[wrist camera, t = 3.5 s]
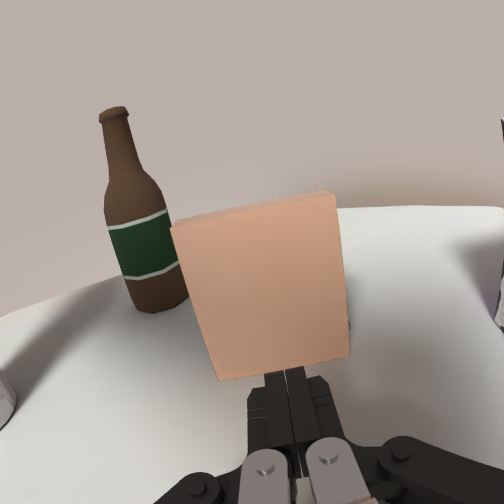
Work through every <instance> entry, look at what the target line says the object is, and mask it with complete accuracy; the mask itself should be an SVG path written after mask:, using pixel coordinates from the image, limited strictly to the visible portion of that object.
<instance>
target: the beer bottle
mask: <svg viewBox="0 0 504 504" xmlns="http://www.w3.org/2000/svg"><path fill="white" fill-rule="evenodd" d="M128 116H129V114H128V111H127V110H126V108H125V107H123V106H120V107H113V108H110V109H107V110H105V111H104V112H102V113H101V114H99V122H100V123H101V124H102V129H103V135H104V143H105V148H106V155H107V161H108V166H109V183H108V187H107V190H106V193H105V199H104V214H105V219H106V224H107V228H108V231H109V234H110V237H111V241H112V244H113V247H114V250H115V253H116V256H117V259H118V262H119V265H120V268H121V271H122V274H123V277H124V279H125V282H126V285H127V288H128V290H129V293H130V296H131V298H132V300H133V302H134V305H135V307H136V309H137V310H139V311H143V312H148V313H157V312H160V311H164V310H167V309H171V308H174V307H176V306H177V305H179V304H180V303H181V302H182V301H184V300H185V299H186V298H188V297H189V292H188V289H187V286H186V283H185V280H184V276H183V273H182V270H181V266H180V263H179V260H178V256H177V253H176V249H175V246H174V242H173V239H172V235H171V232H170V228H171V226H172V225H171V221H170V218H169V214H168V210H167V207H166V203H165V201H164V198H163V195H162V191H161V190H160V188H159V187H158V185H157V184H156V182H155V181H154V180H153V179H152V178H151V177H150V176H149V175H148V174H147V173H146V172H145V171H144V170H143V168H142V165H141V163H140V161H139V158H138V155H137V152H136V148H135V145H134V141H133V138H132V134H131V130H130V127H129V123H128V120H127V117H128Z"/></svg>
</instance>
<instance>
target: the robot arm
mask: <svg viewBox="0 0 504 504" xmlns="http://www.w3.org/2000/svg"><path fill="white" fill-rule="evenodd" d="M285 375H286V381H287V385H286V381H285V376H284V371H283V370H279V371H274V372H269V373H264V379H265V387H259V388H253V389H252V391H251V393H250V395H249V397H248V399H247V410H248V412H247V418H248V420H247V421H248V454H247V457H246V459H245V460H244V462H243V464H242V465H241V466H240V467H238V468H237V469H235V470H234V471H231V472H229V473H226V474H223V475H220V476H217V477H214V476H213V475H211V474H208V473H204V472H196V473H191V474H189V475H187V476H185V477H184V478H182V479H181V480H180V481H179V482H178V483H177V484H176V485H175V486H173V487H172V488H171V489H170V490H169V491H168V492H167V493H165V494H164V495H163V496H162V497H161V498H160V499H158V500H157V501H156V502H155V503H154V504H297V485H296V479H298V478H302V475H301V469H300V462H301V467H302V471H303V476H304V477H308V476H309V479H310V484H311V489H312V495H313V499H314V502H315V504H504V470H502V469H498V468H495V467H492V466H489V465H486V464H482V463H479V462H476V461H473V460H470V459H468V458H465V457H462V456H459V455H456V454H454V453H451V452H448V451H445V450H443V449H440V448H438V447H435V446H432V445H430V444H427V443H425V442H422V441H420V440H417V439H415V438H413V437H409V436H398V437H394V438H392V439H390V440H388V441H387V442H385V443H384V444H383V445H382V447H362V446H358V445H355V444H353V443H351V442H350V441H348V440H347V439H346V437H345V436H344V433H343V430H342V427H341V423H340V420H339V417H338V414H337V410H336V407H335V404H334V401H333V397H332V395H331V391H330V388H329V385H328V383H327V382H326V381H325V380H324V379H323V378H322V377H321V376H315V377H311V378H306V374H305V370H304V366H299V367H294V368H289V369H285ZM287 387H288V390H287ZM288 393H289V395H288ZM16 399H17V397H16V393H15V391H14V389H13V388H12V386H11V385H10V383H9V382H8V380H7V378H6V377H5V375H4V374H3V372H2V370H1V369H0V428H1V427H2V426H3V425H4V424H5V423H6V421H7V420H8V419H9V417H10V416H11V414H12V412H13V410H14V408H15V405H16ZM298 453H299V455H298ZM299 458H300V462H299Z"/></svg>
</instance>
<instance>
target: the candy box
mask: <svg viewBox="0 0 504 504" xmlns="http://www.w3.org/2000/svg"><path fill="white" fill-rule="evenodd" d="M501 123H502V130H503V140H504V115H501ZM494 321H495V322H496V324H497V325H498V326H499V327H500V328H501V330H502V331H503V332H504V261H503V269H502V277H501V284H500V291H499V297H498V303H497V309H496V314H495V319H494Z"/></svg>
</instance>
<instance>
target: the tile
mask: <svg viewBox="0 0 504 504" xmlns="http://www.w3.org/2000/svg"><path fill="white" fill-rule="evenodd" d="M170 232H171V235H172V239H173V242H174V246H175V249H176V253H177V256H178V260H179V263H180V266H181V270H182V273H183V276H184V280H185V283H186V286H187V289H188V292H189V296H190V299H191V302H192V305H193V308H194V311H195V314H196V317H197V320H198V323H199V326H200V329H201V332H202V335H203V338H204V341H205V344H206V347H207V350H208V353H209V355H210V358H211V361H212V364H213V366H214V369H215V372H216V375H217V377H218V380H219V381H221V380H228V379H235V378H242V377H248V376H255V375H261V374H264V373H269V372H274V371H279V370H285V369H289V368H294V367H299V366H308V365H313V364H317V363H322V362H326V361H330V360H335V359H339V358H343V357H347V356H350V349H349V329H348V313H347V299H346V287H345V276H344V266H343V256H342V247H341V238H340V230H339V222H338V214H337V207H336V200H335V195H334V194H332V193H331V192H329V191H327V190H322V191H316V192H310V193H305V194H299V195H294V196H289V197H284V198H279V199H273V200H269V201H263V202H258V203H253V204H248V205H244V206H239V207H234V208H229V209H225V210H220V211H216V212H211V213H206V214H202V215H197V216H193V217H189V218H184V219H180V220H177V221H176V222H175V223H174V224H173V225H172V226H171V228H170Z"/></svg>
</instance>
